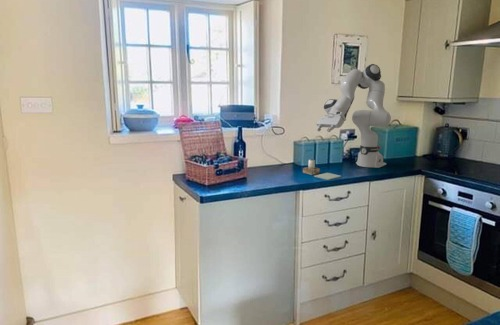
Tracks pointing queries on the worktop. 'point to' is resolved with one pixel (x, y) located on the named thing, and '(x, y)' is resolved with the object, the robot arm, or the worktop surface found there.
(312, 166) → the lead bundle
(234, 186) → the worktop surface
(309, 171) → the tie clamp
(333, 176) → the tile pad
